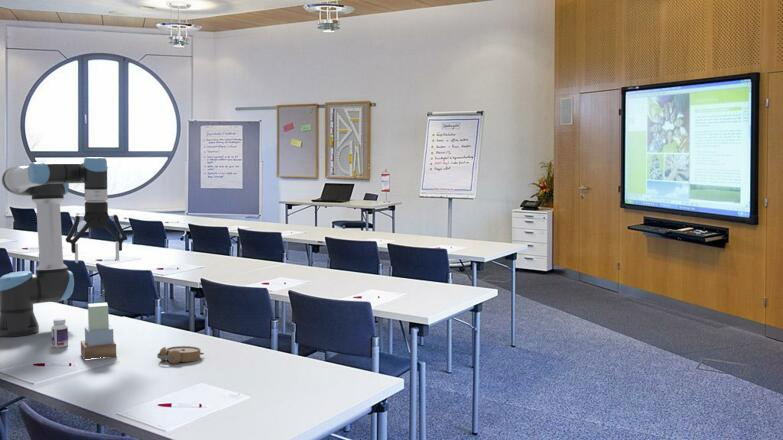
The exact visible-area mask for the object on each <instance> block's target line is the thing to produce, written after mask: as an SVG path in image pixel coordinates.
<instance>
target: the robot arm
mask: <svg viewBox="0 0 783 440" xmlns="http://www.w3.org/2000/svg"><path fill="white" fill-rule="evenodd" d="M107 162H108V161H107V159H106V158H105V157H99V156H98V157H97V156H96V157H93V156H90V157H89V156H88V157H85V158H84V159H83V161H73V162H72V161H69V162H68V161H64V162H63V161H61V162H57V161H47V162H46V161H45V162H44V161H36V162H35V161H33V162H31V163H30V164H29V165H18V166H13V167H9V168H8V169H6V170H5V171H4V173H2V176H1V183H2V186H3V187H4V189H5V190H6V191H8V192H9V193H11V194H14V195H16V196H31V201H32V202H33V203H34V204H35V206H36V222H37V237H38V238H37V239H38V240H37V241H38V257H39V265H38V266H37V267H36V268H35V273H34V274H33V272H32V271H31V270H23V271H15V272H10V273H7V274H4V275H2V276H1V277H0V337H3V338H4V337H6V338H8V337H10V338H11V337H22V336H28V335H29V336H30V335H32V334H36V333H38V332H39V331H40V327H39V326H40V324H39V322H38V319H37V318H36V316H35V312H34V305H35V304H43V303H45V304H46V303H52V302H59V301H66V300H68V299H69V298H70V297H71V296H72V294H73V292H74V287H75V279H74V278H75V276H74V273H73V272H72V271H71V270H69V269H68V265H66V264H65V263H64V254H63V253H64V252H63V236H62V234H63V233H62V215H61V203H62V202H63V200H64V199H65V197H64V196H65V195H67V194H68V193H69V189H70V184H84V186H83V187H84V201H85V202H84V215H78V214H76V215H75V218H74V222H73V224H72V226H71V228H70V229H69V232H68V234H67V236H66V238H65V242H66V243H68V244H70V246H71V253H72V254H74V263H76V264H78V263H79V245H78V241H79V239H81V237H82V236H83V235H84V234H85V233H86V231H87V230H89V228H91V229H95V228H99V229H101V228H105V229H106V230H107V231H108V232H109V233H110V234H111V235H112V236H113V237H114V238H115V239H116V240H117V241H115V261H117V262H118V261H120V252H121V251H122V250H123V242H125V241H127V240H128V237H127V235H126V233H125V231H124V229H123V228H122V225H121V224H120V222H119V219H118V217H119V216H118V215H117V214H115V213H114V214H110V215H109V211H108V210H109V208H108V207H109V204H108V202H107V201H108V197H109V196H108V163H107ZM83 220H84V222H85V224H84V225H83V226H82V228H81V229H80V230H79V231H78V232H77V234H76V235H75V236H74V234H75V232H76V230H77V228H78V226H79V225H80V223H81V222H82V221H83ZM109 220H111V221H112V222H114V224H115V227H116V228H117V231H118V232H119V234H120V235H118V234H117V232H115V230H114V229H113V228H112V227H110V225H109V223H108V221H109ZM120 236H121V237H120ZM122 252H123V251H122Z"/></svg>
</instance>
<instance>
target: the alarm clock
mask: <svg viewBox="0 0 783 440" xmlns="http://www.w3.org/2000/svg"><path fill="white" fill-rule="evenodd" d="M204 354H205V353H204V352H201V348H200V347H196V346H187V345H184V346H183V345H181V346H171V347H168V348H166V346H163V347H162V348H160V350H159V353H157V354H156V355H157V357H156V358H157V359H160V360H161V361H162V362H166V361H168V362H169V363H170V364H172V365H177V364H179V363H180V362H181V363H182V362H183V363H188V362H195V361H199V360H200V359H201V355H204Z"/></svg>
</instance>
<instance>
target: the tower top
mask: <svg viewBox="0 0 783 440" xmlns="http://www.w3.org/2000/svg"><path fill="white" fill-rule="evenodd" d="M84 341H85V342H86V343H87V345H88V346H95V345H104V344H113V343H114V342H115V339H114V327H112V326H111V325H110V324H109V329H100V330H90V329H89V326H84Z"/></svg>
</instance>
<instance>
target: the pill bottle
mask: <svg viewBox="0 0 783 440" xmlns="http://www.w3.org/2000/svg"><path fill="white" fill-rule="evenodd" d="M52 321H53V325H52V326H51V328H50V329H51V346H52V348H65V347H68V345H69V331H68V330H69V329H68V327H69V326H68V325H67V324H66V318H61V317H60V318H53V320H52Z"/></svg>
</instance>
